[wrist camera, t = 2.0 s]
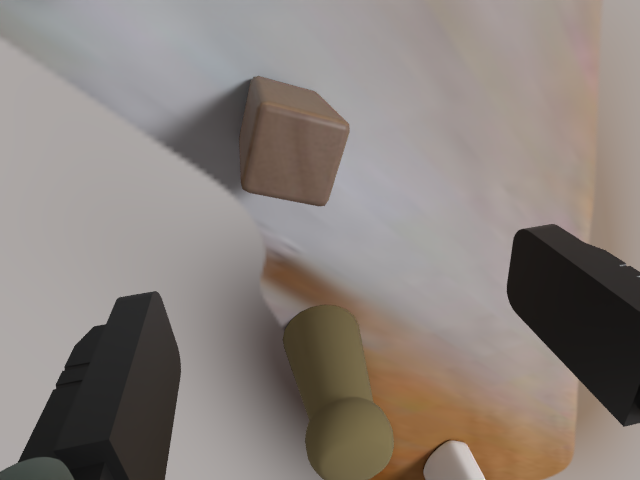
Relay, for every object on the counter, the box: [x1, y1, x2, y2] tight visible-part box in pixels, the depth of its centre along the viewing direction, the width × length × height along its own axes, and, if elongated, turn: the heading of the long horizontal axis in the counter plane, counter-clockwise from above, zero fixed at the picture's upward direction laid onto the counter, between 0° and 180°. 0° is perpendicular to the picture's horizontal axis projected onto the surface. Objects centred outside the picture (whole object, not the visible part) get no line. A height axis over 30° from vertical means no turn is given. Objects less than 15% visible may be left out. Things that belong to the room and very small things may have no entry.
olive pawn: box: [283, 305, 394, 480], centre depth 28 cm, size 6×6×11 cm
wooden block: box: [239, 76, 350, 206], centre depth 21 cm, size 4×4×8 cm
